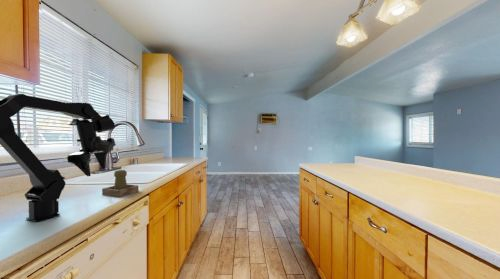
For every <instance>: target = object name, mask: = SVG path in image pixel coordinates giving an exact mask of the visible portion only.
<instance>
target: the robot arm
mask: <svg viewBox="0 0 500 279" xmlns="http://www.w3.org/2000/svg"><path fill="white" fill-rule="evenodd" d="M23 109H30V110H31V109H32V110H39V111H46V112H51V113H52V112H53V113H60V114H64V115H65V116H68V117H72V118H73V119H72V121H71V122H70V123H69V124H68V125H69V126H76V129H77V130H76V131H77V134H78V138H76V141H77V143H80V146H81V147H80V148H79V151H77V152H73V153H71V154H68V155H67V157H66V160H67V163H70V164H72V165H75V167H77V168H78V169H79V170H80V171H81V172H82V173H83V174H84V175H85V176H87V177H91V174H92V173H91V167H90V162H91V161H92V159H91V157H92V155H93V154H94V156H95V158H96V160H97V163H98V164H99V166H100V168H101V169H105V168H106V161H107V156H108V154H109V153H111V152H112V151H113V150H114V147H115V146H116V141H115V139H114V138H112V137H108V138H107V139H102V138H101V136H100V135H98V134H97V133H99V134H100V133H103V132H108V131H113V130H114V129H115V127H116V126H115V125H116V123H115V122H114V120H113V118H111V117H110V115H109V114H103V115H101V114H100V113H98V111H96V110H95V108H94V106H92V104H91V103H87V102H65V101H60V100H55V99H49V98H43V97H37V96H32V95H27V94H25V93H13V94H9V95H8V96H6V97H4V98H3V99H0V146H1V147H2V148H3V149H4V150H5V151H6V152H7V153H8V154H9V155H10V156H11V157H12V159H13V160H14V161H15V162H16V163H17V164H18V165H19V166H20V167H21V168H22V170H24V172H26V173H27V175H28V176H29V180H30V184H31V185H32V186H31V188H29V190H27V191H26V192H25V193H24V197H25V199H26V200H27V201H28V217H26V218H25V219H26V220H28V221H31V222H35V223H38V222H42V221H45V220H49V219H51V218H52V219H53V218H56V217H59V216H61V214H60V213H59V212H60V211H59V210H60V209H59V208H60V207H59V205H60V204H59V199H60V197H61V194H62V191H64V189H65V187H66V181H65V179H66V177H64V176H63V175H62V174H61V172H60V171H59V169H55V168H47V167H46V166H45V165H44V163H42V160H40V159H39V158H38V157H37V155H35V153H34V152H33V151H32V150H31V149H30V147H28V145H27V144H26V142H24V140H23V139H22V138H21V137H20V136H19V135H18V134H17V132H16V128H15V125H14V122H13V120H12V117H13V116H15V115H17V114H18V113H19V112H20V111H21V110H23Z"/></svg>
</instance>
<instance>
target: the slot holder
mask: <svg viewBox="0 0 500 279" xmlns="http://www.w3.org/2000/svg"><path fill="white" fill-rule="evenodd" d="M101 190H102V192H101V193H102V194H101V195H102V196H106V197H107V196H108V197H113V198H114V197H115V198H121V196H122V197H125V196H128V194H129V195H132V194H135V193H138V192H139V185H137V184H128V183H127V188H125V189H121V190H114V185H112V186H107V187H103V188H102V189H101ZM124 195H125V196H124Z"/></svg>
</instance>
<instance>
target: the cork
mask: <svg viewBox="0 0 500 279" xmlns="http://www.w3.org/2000/svg"><path fill="white" fill-rule="evenodd" d="M127 175H128V174H127V170H125V169H118V170H115V171H114V174H113V176H114V178H115V180H114V185H113V186H114V190H121V189H125V188H127V184H128V183H127V179H126V177H127Z"/></svg>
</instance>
